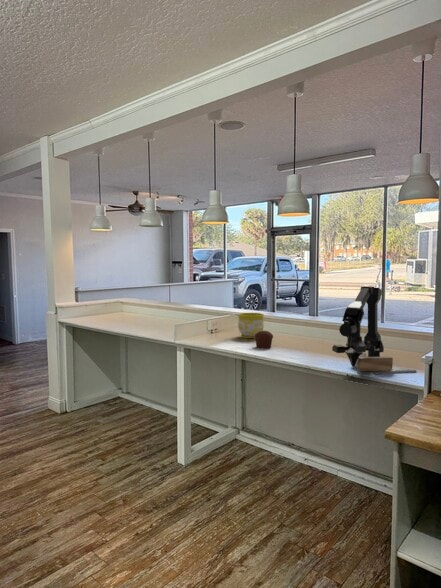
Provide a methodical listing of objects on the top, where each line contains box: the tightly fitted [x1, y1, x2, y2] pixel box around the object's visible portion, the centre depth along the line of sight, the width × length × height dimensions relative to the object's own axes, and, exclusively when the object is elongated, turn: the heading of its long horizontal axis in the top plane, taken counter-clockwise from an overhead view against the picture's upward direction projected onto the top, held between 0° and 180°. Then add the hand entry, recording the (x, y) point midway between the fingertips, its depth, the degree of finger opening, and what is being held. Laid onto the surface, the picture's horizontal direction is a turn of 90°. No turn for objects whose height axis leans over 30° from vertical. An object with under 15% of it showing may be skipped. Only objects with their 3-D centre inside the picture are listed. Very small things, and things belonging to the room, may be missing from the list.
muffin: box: [254, 330, 274, 349], centre depth 254 cm, size 12×11×10 cm
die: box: [354, 352, 368, 368], centre depth 204 cm, size 8×9×10 cm
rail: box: [356, 367, 417, 376], centre depth 195 cm, size 4×28×1 cm, turn 99°
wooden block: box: [356, 355, 394, 372], centre depth 194 cm, size 3×16×6 cm, turn 99°
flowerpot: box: [237, 312, 265, 339], centre depth 288 cm, size 18×18×16 cm
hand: (353, 366), depth 192 cm, fingers closed
